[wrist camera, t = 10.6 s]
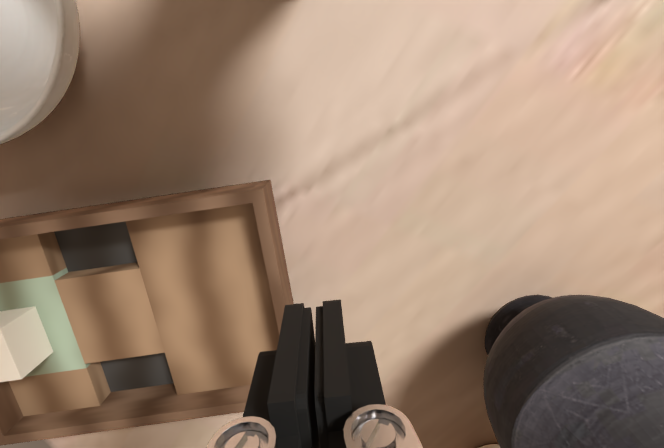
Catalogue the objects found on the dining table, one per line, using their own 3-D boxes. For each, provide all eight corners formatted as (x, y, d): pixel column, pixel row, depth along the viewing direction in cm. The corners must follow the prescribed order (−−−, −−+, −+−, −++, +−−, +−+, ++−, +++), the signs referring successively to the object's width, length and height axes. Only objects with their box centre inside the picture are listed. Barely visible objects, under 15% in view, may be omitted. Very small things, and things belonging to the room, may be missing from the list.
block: (-17, 313, 35) (-59, 337, 32) (35, 306, 35) (0, 328, 32) (3, 359, 37) (-34, 387, 33) (53, 351, 37) (21, 379, 33)
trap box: (270, 179, 35) (262, 189, 31) (305, 369, 41) (303, 403, 36) (-43, 225, 36) (-99, 241, 31) (35, 407, 41) (-3, 445, 36)
